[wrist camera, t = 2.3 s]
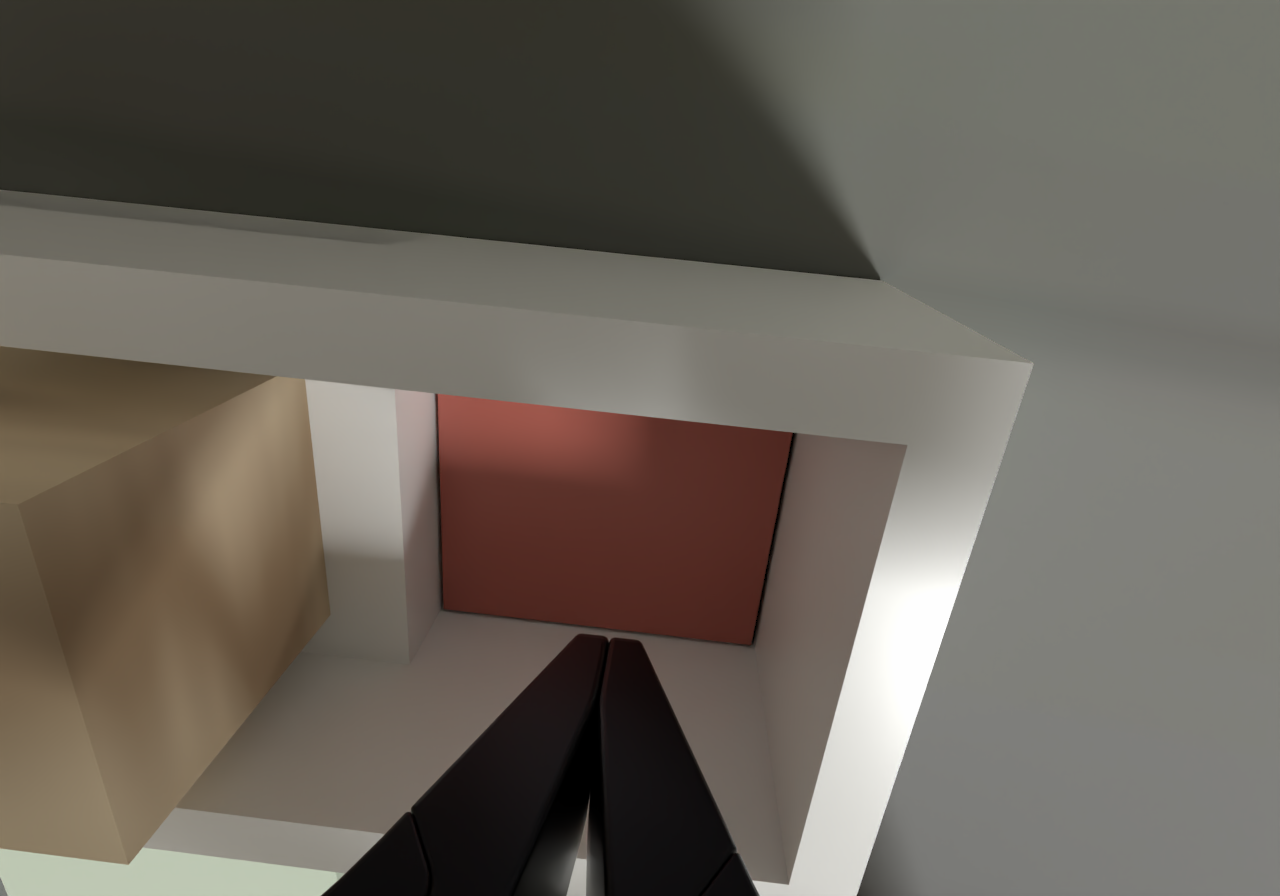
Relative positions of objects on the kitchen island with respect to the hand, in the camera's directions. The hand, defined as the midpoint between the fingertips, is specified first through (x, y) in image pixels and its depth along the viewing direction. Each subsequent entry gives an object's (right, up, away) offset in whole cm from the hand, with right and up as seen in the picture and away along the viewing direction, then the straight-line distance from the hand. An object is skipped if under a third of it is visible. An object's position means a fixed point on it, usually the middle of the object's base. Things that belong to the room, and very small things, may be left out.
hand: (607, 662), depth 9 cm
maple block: (-8, +2, +3) cm, 9 cm away
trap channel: (-9, +3, +5) cm, 11 cm away
